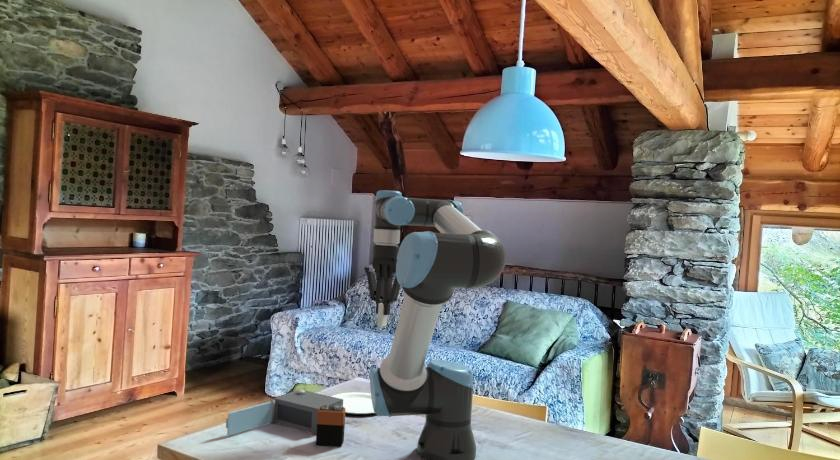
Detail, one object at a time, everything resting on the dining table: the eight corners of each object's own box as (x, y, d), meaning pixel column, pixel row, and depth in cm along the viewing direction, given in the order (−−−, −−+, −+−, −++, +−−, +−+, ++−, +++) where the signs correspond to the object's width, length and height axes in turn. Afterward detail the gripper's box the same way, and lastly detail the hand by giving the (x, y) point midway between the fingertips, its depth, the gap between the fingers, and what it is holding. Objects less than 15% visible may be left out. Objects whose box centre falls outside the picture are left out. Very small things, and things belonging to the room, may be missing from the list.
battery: (341, 447, 153) (343, 409, 153) (315, 446, 153) (317, 407, 153) (344, 441, 157) (345, 403, 157) (318, 439, 157) (320, 402, 157)
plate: (320, 398, 194) (320, 393, 194) (382, 395, 200) (382, 390, 200) (330, 420, 174) (330, 414, 174) (399, 416, 180) (399, 411, 180)
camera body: (348, 425, 169) (349, 397, 169) (324, 436, 160) (326, 407, 160) (297, 412, 178) (299, 386, 178) (272, 422, 168) (274, 395, 168)
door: (229, 437, 155) (230, 412, 155) (225, 435, 156) (226, 411, 156) (274, 423, 167) (276, 400, 167) (270, 421, 168) (272, 399, 168)
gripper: (412, 245, 171) (408, 327, 172) (374, 242, 177) (369, 321, 178) (399, 246, 165) (395, 330, 165) (360, 242, 171) (355, 324, 171)
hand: (382, 325), depth 172 cm, fingers closed
